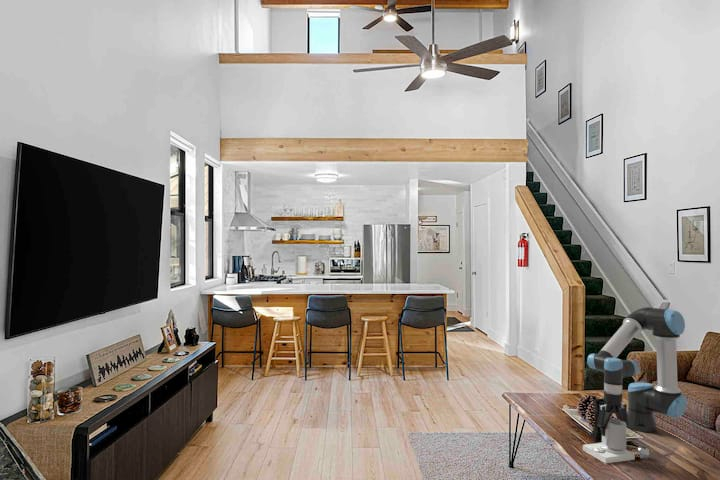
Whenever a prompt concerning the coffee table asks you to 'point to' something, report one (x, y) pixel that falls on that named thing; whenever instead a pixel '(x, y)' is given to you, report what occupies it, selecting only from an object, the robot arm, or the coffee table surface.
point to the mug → (616, 434)
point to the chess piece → (597, 430)
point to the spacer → (643, 452)
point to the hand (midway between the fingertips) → (612, 441)
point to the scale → (608, 453)
